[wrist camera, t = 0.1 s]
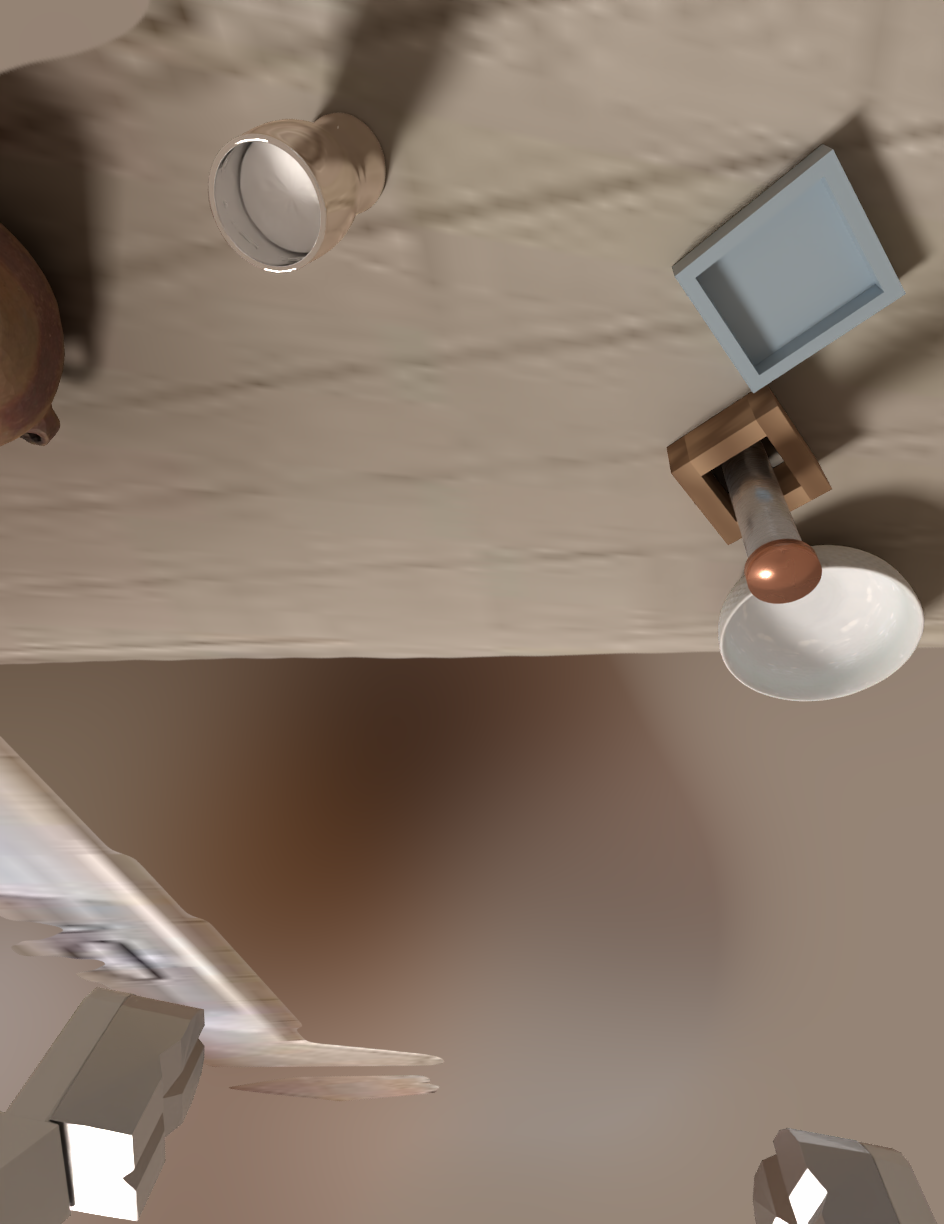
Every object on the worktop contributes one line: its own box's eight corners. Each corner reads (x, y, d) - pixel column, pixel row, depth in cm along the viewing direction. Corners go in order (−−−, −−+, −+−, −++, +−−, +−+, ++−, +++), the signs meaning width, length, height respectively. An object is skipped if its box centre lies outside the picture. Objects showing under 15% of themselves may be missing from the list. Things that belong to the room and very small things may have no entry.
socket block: (765, 382, 53) (777, 406, 50) (818, 461, 57) (832, 489, 53) (666, 447, 58) (671, 473, 54) (720, 517, 61) (728, 545, 58)
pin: (753, 418, 55) (801, 537, 42) (780, 458, 57) (834, 582, 44) (703, 450, 57) (734, 572, 45) (730, 487, 59) (768, 613, 46)
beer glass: (410, 192, 48) (354, 241, 37) (332, 238, 50) (258, 298, 39) (357, 81, 44) (277, 98, 33) (276, 138, 47) (177, 172, 35)
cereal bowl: (930, 528, 59) (963, 577, 54) (858, 659, 70) (880, 710, 65) (734, 513, 61) (747, 559, 56) (694, 644, 72) (702, 692, 67)
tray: (822, 143, 43) (832, 149, 41) (893, 283, 47) (905, 293, 45) (671, 266, 48) (674, 276, 47) (747, 380, 53) (753, 393, 51)
